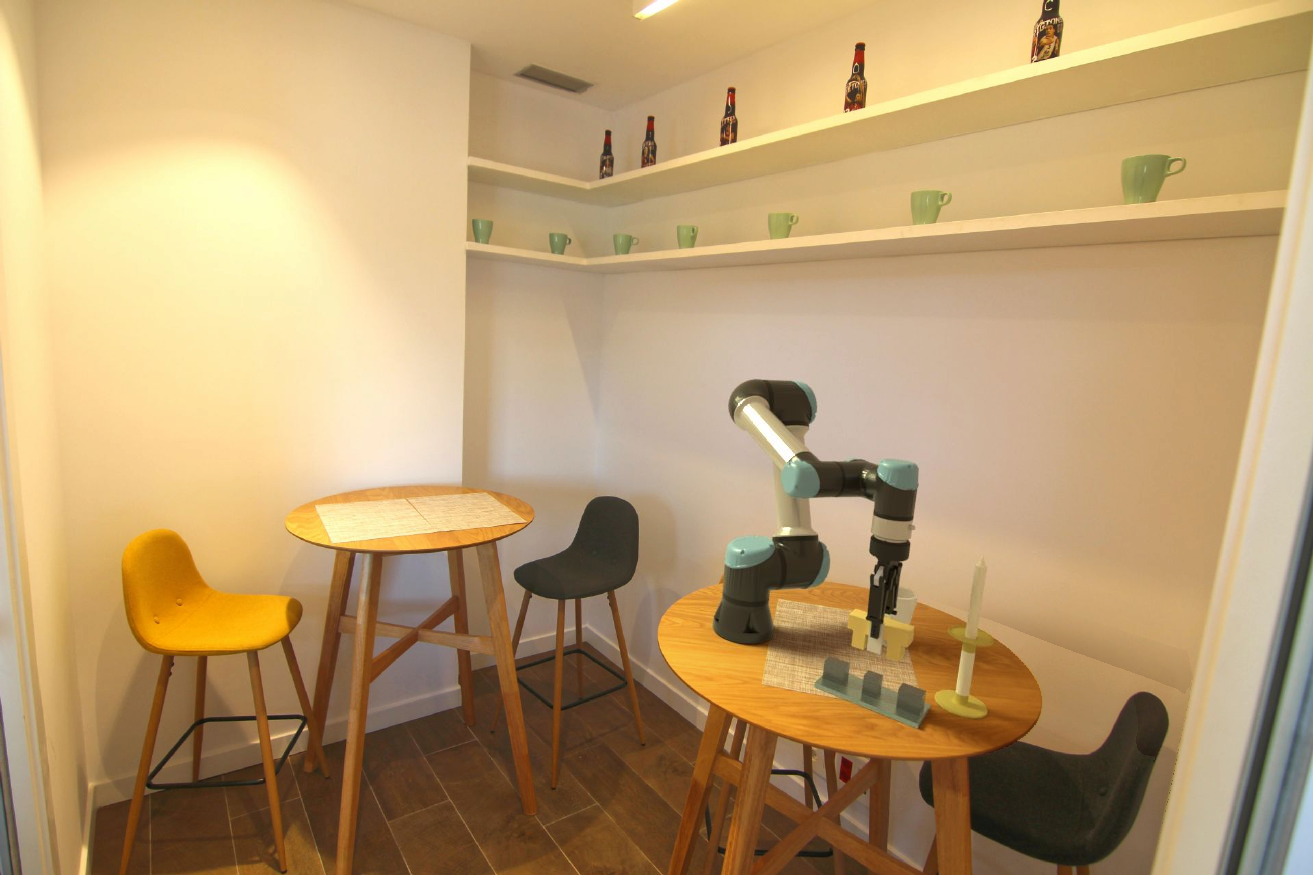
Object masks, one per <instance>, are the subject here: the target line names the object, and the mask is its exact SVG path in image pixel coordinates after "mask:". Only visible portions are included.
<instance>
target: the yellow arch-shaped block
mask: <svg viewBox="0 0 1313 875" xmlns="http://www.w3.org/2000/svg"><path fill="white" fill-rule="evenodd" d="M866 617H867V611H864V610H862V609H858V608H854V609H853V610H852V611H851V612H849V614H848V618H847V629H848V630H852V635H851V636H852V638H851V647H853V648H857V649H859V650H862V651H864V650H865V649H867V644H868V635H869V626H870V621H868V620H866ZM884 623H885V627H884V635H883V640H886V641H888V643H887V646H886V654H885V659H887V660H891V661H894V662H897V663H900V661H901V660H902V658H903V657H904V656H905V654H906V648H908V647H909V646H910V645H911V644H912V643H913V641H914V636H915V635H914V634H915V628H916V627H915V626H914V625H912V624H910V625H908V624H905V623H901V622H898V621H895V620H891V619H888V618H885V617H884Z"/></svg>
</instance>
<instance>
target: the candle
mask: <svg viewBox="0 0 1313 875" xmlns="http://www.w3.org/2000/svg"><path fill="white" fill-rule="evenodd" d="M987 570H988V566H987V565H986V563H985V558H984V554H981V556H980V559H979V560H978V562H977V563H976V564H975V565H974V571H973V578H972V586H971V592H970V599H969V605H968V606H969V607H968V613H967V619H966V625H962V624H960V625H959V624H958V625H957V624H956V625H951V626H948V630H947V632H948V634H949V635H950V636H951V637H952V638H954V639H955V640H957V641H959V642H962V646H961V653H960V659H959V666H958V674H957V679H956V688H955V690H952V689H941V690H939V691H937V692H935V694H934V700H935V702H936V704H937V705H938V706H939V707H941V708H942V709H943V710H945V711H946V712H949V714H953V715H955V716H959V717H961V718H966V719H972V720H974V719H975V720H977V719H983V718H985V717H986V716H987V715H988V708H987V706H986V704H985V703H983V701H981V699H978V698H977V697H975V696H973V695H971V694H970V691H971V690H970V689H971V683H972V678H973V670H974V665H975V664H974V663H975V659H976V658H975V656H976V650H977V646H978V647H990V646H992V645H994V643H995V638H994V637H993V635H991V634H989V633H988V632H986V631H984V630H982V629H979V623H980V618H981V610H982V603H983V598H984V596H983V595H984V592H985V591H984V590H985V585H986V584H985V582H986V577H987Z"/></svg>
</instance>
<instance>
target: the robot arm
mask: <svg viewBox="0 0 1313 875" xmlns="http://www.w3.org/2000/svg"><path fill="white" fill-rule="evenodd" d="M727 405H728V407H727V408H728V413H729V416H730V418H731V420H732V422H733V423H734V424H735V425H736V426H737V427H738V428H739V430H742V431H746V432H747V433H748V434H749V435H750V436H751V437H752V439H753V440H754V441H755V443H757V445H758V446H760V448H761V449H762V451H764V452H765V454H766V455H767V456H768V457H769V458H770V459H771V461H772V470H773V487H774V498H775V500H774V501H775V511H776V512H775V513H776V526H777V527H776V528H777V529H776V530H775V532H774V533H773V534H772V535H771V538H769V537H766V536H761V535H759V536H758V535H757V536H756V535H745V536H739V537H736V538H734V539H732V540H731V541H729V543H728V544H727V546H726V549H725V550H726V552H725V554H724V555H725V556H724V571H723V584H722V596H721V599H720V602H719V604H718V606H717V609H716V611H715V613H714V615H713V619H712V630H713V631H714V632H715V634H717V635H718V636H720V637H721V638H723V639H725V640H728V641H730V642H735V643H739V644H746V645H753V644H754V645H755V644H763V643H765V642H768V641H770V640H771V639H772V637H773V636H774V628H775V626H774V621H773V617H772V612H771V608H770V595H771V594H770V593H771V591H782V590H784V591H785V590H797V589H801V590H807V589H810V588H811V589H812V588H816V587H819V586H820V585H822V584H823V583H824V582H825V581H826V579H827V578H828V575H829V572H830V569H831V556H830V552H829V550H828V548H827V545H826V543H824V542H823V541H820V540H819V534H818V533H817V531H815V530H814V529H813V528H812V518H811V506H810V499H817V498H818V499H819V498H820V499H822V498H862V499H866V500H868V501H870V502H874V505H873V511H872V521H871V528H870V532H871V533H872V534H871V535H870V541H869V550H868V552H869V554H870V555H871V556H873V557H874V558H876V559H877V562H876V564H875V565H874V568H873V573H870V575H869V594H868V595H869V596H868V603H867V604H868V605H867V611H866V612H867V617H866V620H868V621H870V626H869V635H868V644H867V647H866V651H867V652H871V653H874V654H876V655H879V656H880V655H882V653H883V652H882V651H883V646H884V647H887V643H888V641H886V640H883V635H884V627H885V623H884V617H885V618H888V619H891V620H892V615H897V611H895V610H894V609H895V608H896V607H897V597H898V589H899V586H900V580H901V574H902V568H903V566H904V565H903V562H906V561H908V560H909V558H910V551H911V541H910V539H911V538H912V532H913V531H915V530H916V526H915V525H913V523H914V516H915V509H916V502H917V493H918V489H919V472H920V471H919V470H920V469H919V468H920V467H919V466H918V464H916V463H915V462H913V461H909V460H903V459H899V458H898V459H896V458H883V459H881V460H880V461H879V462H878V464H876V463H873V462H869V460H865V459H862V458H854V457H853V458H847V459H845V460H844V461H839V460H838V461H836V460H834V461H833V460H832V461H827V460H825V461H824V460H823V461H822V460H820V459H819V458H818V456H816V455H815V454H814V453H813V452H812V451H811V450H810V449H809V448H808V447H807V446H806V443H805V442H806V441H805V436H806V434H807V433H808V431H810V424H812V423H813V422H814V421H815V420H816V417H817V415H816V414H817V412H818V402H817V397H816V394H815V393H814V390H813V389H812V388H811V387H810V386H809V385H808V384H807V383H805V382H803V381H795V380H792V379H791V380H790V379H789V380H780V379H779V380H778V379H777V380H775V379H759V378H753V379H749V380H746V381H743V382H741V383H740V384H738V385H737V386H736V387H735V388H734V389H733V391H732V392H731V394H730V396H729V400H728V404H727ZM890 614H892V615H890Z"/></svg>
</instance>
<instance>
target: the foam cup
mask: <svg viewBox="0 0 1313 875" xmlns="http://www.w3.org/2000/svg"><path fill="white" fill-rule="evenodd" d="M917 603H918V594H917V592H916V591H914V590H913V589H911V588H909V587H905V586H902V585H899V589H898V597H897V607H896V608H895V609H894V610H895V611H897V615H892V614H890V615H892V620H895V621H898V622H901V623H905V624H908V625H911V622H912V620H913V619H912V618H913V616H914V613H915V609H916V607H917V605H918V604H917Z"/></svg>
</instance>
